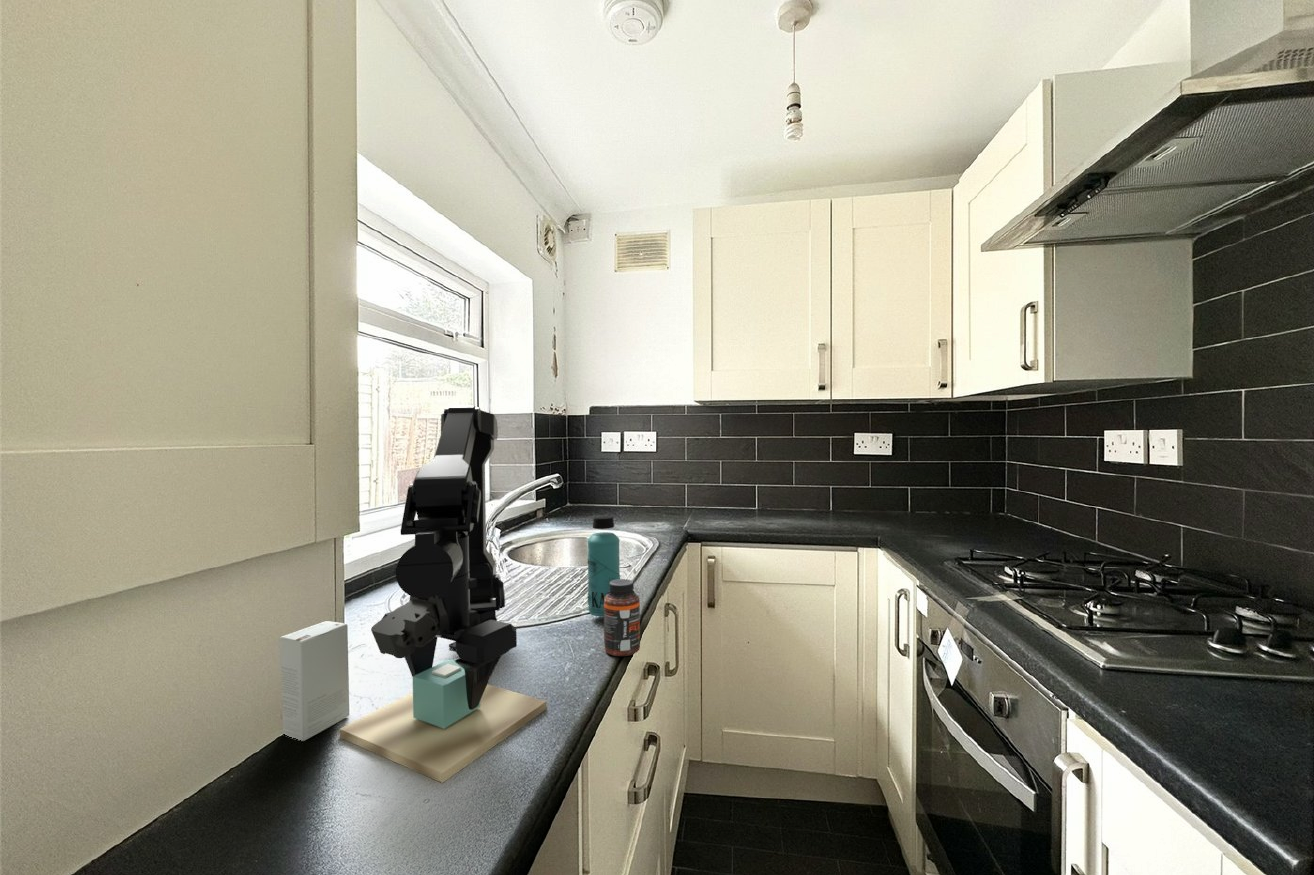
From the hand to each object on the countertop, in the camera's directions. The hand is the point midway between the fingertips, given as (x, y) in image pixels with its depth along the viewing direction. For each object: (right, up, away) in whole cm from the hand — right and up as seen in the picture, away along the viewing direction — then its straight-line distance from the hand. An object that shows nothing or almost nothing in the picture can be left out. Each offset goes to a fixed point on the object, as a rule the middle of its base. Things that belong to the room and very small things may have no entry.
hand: (447, 699), depth 64 cm
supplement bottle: (+20, -3, +21) cm, 29 cm away
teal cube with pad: (0, -2, 0) cm, 2 cm away
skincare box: (-16, -3, 0) cm, 16 cm away
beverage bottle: (+16, -3, +36) cm, 39 cm away
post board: (0, -3, 0) cm, 3 cm away
